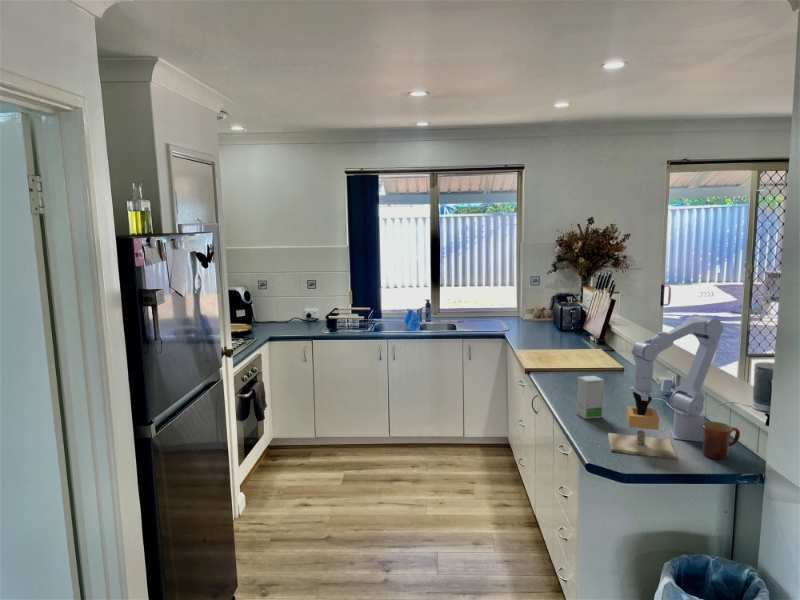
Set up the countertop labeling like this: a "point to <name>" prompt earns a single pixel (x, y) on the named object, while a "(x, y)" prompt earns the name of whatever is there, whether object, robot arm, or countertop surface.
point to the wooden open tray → (642, 418)
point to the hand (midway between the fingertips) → (640, 414)
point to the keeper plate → (641, 445)
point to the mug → (718, 439)
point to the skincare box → (590, 397)
